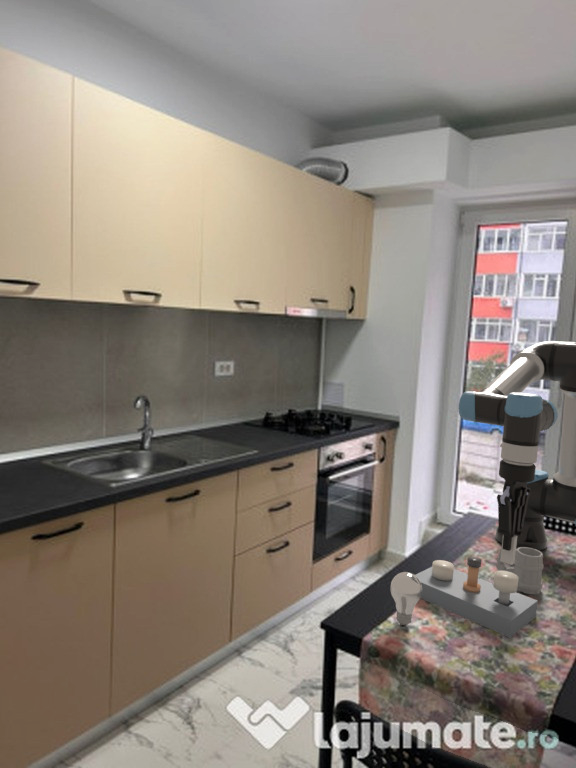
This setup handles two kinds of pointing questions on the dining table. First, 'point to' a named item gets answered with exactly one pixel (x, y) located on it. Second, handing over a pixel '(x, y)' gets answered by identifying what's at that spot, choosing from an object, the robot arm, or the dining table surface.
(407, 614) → the light bulb
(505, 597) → the knob
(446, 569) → the knob
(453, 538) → the dining table surface
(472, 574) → the ball
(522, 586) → the mug
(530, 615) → the panel
